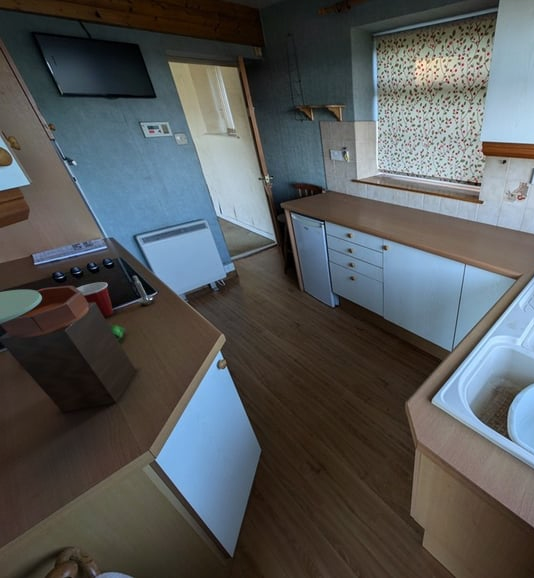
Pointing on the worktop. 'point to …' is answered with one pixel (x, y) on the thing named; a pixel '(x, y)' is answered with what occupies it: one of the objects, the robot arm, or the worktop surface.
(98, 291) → the plastic cup
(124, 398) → the worktop surface
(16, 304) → the green flat oval disc
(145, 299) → the screw
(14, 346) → the plinth
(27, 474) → the worktop surface
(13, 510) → the worktop surface
